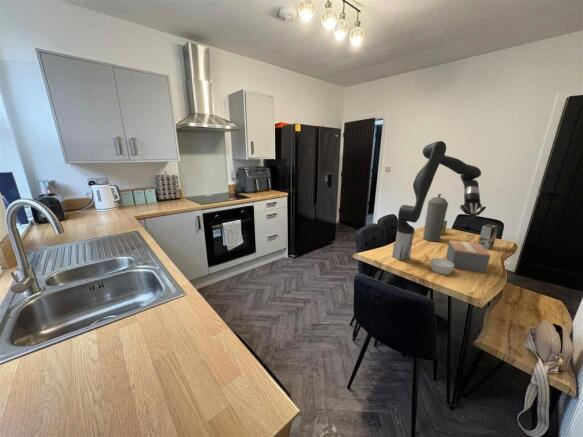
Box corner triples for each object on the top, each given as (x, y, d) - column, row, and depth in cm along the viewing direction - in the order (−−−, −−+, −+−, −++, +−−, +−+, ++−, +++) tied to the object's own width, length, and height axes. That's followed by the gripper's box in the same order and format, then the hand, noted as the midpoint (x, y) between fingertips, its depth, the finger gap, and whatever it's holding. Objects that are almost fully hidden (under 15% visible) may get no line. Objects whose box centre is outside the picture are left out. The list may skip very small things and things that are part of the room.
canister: (444, 242, 174) (454, 195, 165) (428, 242, 173) (437, 195, 164) (433, 236, 187) (442, 192, 177) (418, 236, 186) (425, 192, 176)
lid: (490, 256, 128) (490, 254, 127) (455, 251, 133) (455, 249, 133) (480, 245, 142) (480, 244, 142) (449, 241, 148) (449, 240, 147)
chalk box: (436, 235, 188) (439, 217, 184) (426, 231, 197) (430, 214, 193) (445, 234, 191) (448, 217, 187) (435, 231, 199) (439, 214, 195)
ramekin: (424, 268, 135) (426, 259, 134) (437, 264, 140) (439, 256, 138) (443, 277, 125) (445, 268, 124) (457, 273, 130) (459, 264, 128)
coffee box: (488, 250, 161) (493, 227, 157) (477, 247, 166) (482, 225, 162) (493, 247, 166) (499, 225, 161) (482, 244, 171) (487, 223, 167)
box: (485, 272, 130) (490, 256, 128) (451, 267, 136) (455, 251, 133) (476, 260, 145) (480, 245, 142) (446, 256, 150) (449, 241, 148)
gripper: (460, 191, 143) (461, 215, 135) (487, 192, 138) (490, 218, 130) (457, 198, 149) (457, 222, 141) (482, 200, 144) (484, 224, 137)
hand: (473, 220), depth 136 cm, fingers closed
